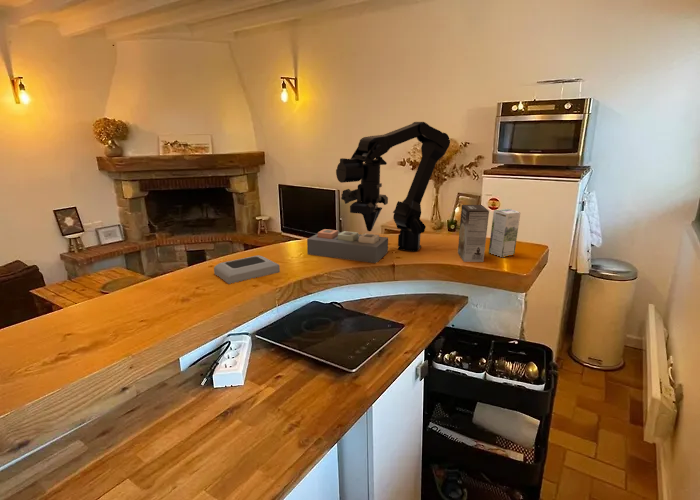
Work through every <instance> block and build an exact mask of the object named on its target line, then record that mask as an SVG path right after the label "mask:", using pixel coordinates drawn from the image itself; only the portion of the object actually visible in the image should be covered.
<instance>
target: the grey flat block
mask: <svg viewBox="0 0 700 500" xmlns="http://www.w3.org/2000/svg"><path fill="white" fill-rule="evenodd" d="M280 267H281V266H280V264H279V263H277V262H274V261H273V260H271V259H269V258H267V257H264V256H262V255H259V254H258V255H253V256H248V257H244V258H237V259H233V260H227V261H224V262H219V263H218V264H216V265H215V266H214V267H213V272H214V275H215V276H216V275H217V277H218V276H219V277H220V278H219V277H218V278H219V279H220V280H222V279H223V281H224V282H225V283H227V284H228V285H231V283H232V284H235V282H236V283H239V281H240V282H244V281H248V280H251V278H253V279H256V277H257V278H261V277H265V276H268V275H273V274H277V273H281V272H280V271H281V270H280ZM247 279H248V280H247ZM243 280H244V281H243Z"/></svg>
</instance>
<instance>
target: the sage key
mask: <svg viewBox="0 0 700 500" xmlns="http://www.w3.org/2000/svg"><path fill="white" fill-rule="evenodd" d="M341 232H342V233H340V234H338V240H344V241H353V242H354V241H355V240H357V239H358V234H359V232H358V231H357V232H355V231H347V230H346V231H345V230H343V231H341Z"/></svg>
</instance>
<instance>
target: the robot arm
mask: <svg viewBox="0 0 700 500" xmlns="http://www.w3.org/2000/svg"><path fill="white" fill-rule="evenodd" d="M413 139H417V141H418V142H420V143H421V146H420V147H421V148H420V149H421V158H420V162H419V165H418V166H417V169H416V172H415V174H414V177H413V180H412V181H411V184H410V186H409V189H408V193H407V195H406V197H405V198H404V200H402V201H399V200H398V201H397V202H396V205H395V208H394V210H393V212H392V213H393V217H392V219H393V221H394V223H395V225H396V228H397V229H398V230H399V234H398V235H397V236H398V237H397V238H398V239H397V250H400V251H408V252H409V251H410V252H419V251H420V248H422V245H421V234H422V233H425V230H426V224H425V223H424V222H423V221H422V220H421V215H422V208H421V204H422V200H423V197H424V196H425V192H426V190H427V187H428V184H429V182H430V180H431V177H432V175H433V173H434V170H435V167H436V164H437V163H438V162H439V160H441V159H442V158H443V156H444V155H445V154H446V152H447V151H448V150H449V147H450V144H451V140H450V137H449V135H448V134H447V132H442V131H441V130H439V129H437V128H434V127H433V126H431V125H429V124H428V123H426V122H425V121H414V122H412V123H411V124H407V125H405V126H403V127H400V128H398V129H395V130H392V131H389V132H387V133H384V134H377V135H370V136H363V137H361V138H360V139H359V142H358V145H357V147H356V149H355V150H354V152H353V154H352V155H351V157H350V158H346V157H345V158H343V157H342V158H340V159H339V163H338V165H337V166H336V169H335V174H336V180H337V181H338V182H339V183H342V184H344V183H354V182H355V183H356V182H360V183H358V185H357V188H356V189H352V190H351V189H349V188H347V189H344V190H342V192H341V193H342V194H341V197H340V199H341V200H342V201H344V205H346V204H349V203H350V202H353V203H351V205H349V213H351V214H361V215H362V217H363V220H364V224H365V228H366V230H367V232H372V230H373V228H374V227H375V224H376V221H377V220H378V217H379V215H380V213H381V211H382V209H383V207H380V206H379V205H378V204H383V205H384V206H385V205H388V204H389V203H388V202H389V197H388V196H387V195H386V194H380V192H381V191H380V190H381V188H383V187H382V186H383V185H382V184H383V183H382V182H381V166H386V165H387V164H388V163H387V161H386V160H384V159H383V155H385V154H387V153H388V152H389V151H390V149H392V148H393V147H395V146H398V145H401V144H402V143H405V142H408V141H410V140H413ZM354 201H355V202H354Z"/></svg>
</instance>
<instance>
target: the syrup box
mask: <svg viewBox="0 0 700 500" xmlns="http://www.w3.org/2000/svg"><path fill="white" fill-rule="evenodd" d="M520 217H521V212H520V211H518V210H515V209H512V208H503V209H494V210H493V214H492V221H491V230H490V239H489V247H488V254H490V253H491V255H492V254H494V255H493V256H495V255H497V256H496V257H498V256H500V257H499V258H501V257H502V258H505V257H504V256H508V255H513V254H514V255H515V253H516V245H517V239H518V233H519V225H520Z"/></svg>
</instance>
